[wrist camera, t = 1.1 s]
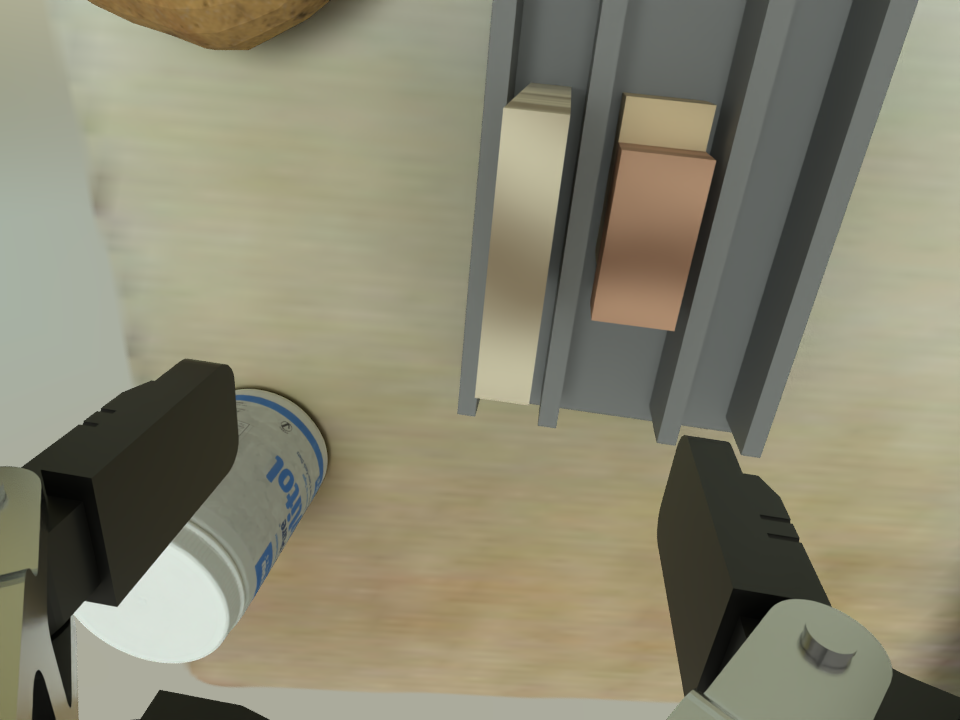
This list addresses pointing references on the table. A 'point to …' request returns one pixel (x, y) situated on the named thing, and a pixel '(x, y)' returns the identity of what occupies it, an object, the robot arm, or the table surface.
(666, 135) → the offcut lower
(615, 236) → the offcut upper
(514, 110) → the sheet
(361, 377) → the table surface
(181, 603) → the supplement tub
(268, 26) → the potato
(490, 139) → the rack
